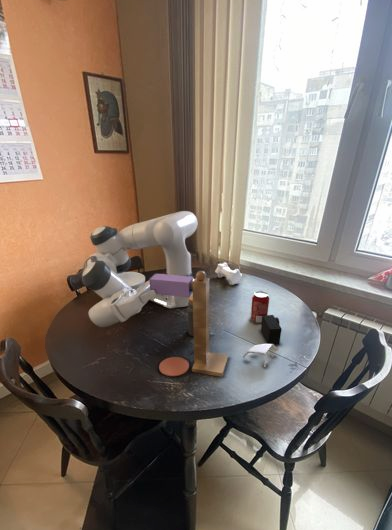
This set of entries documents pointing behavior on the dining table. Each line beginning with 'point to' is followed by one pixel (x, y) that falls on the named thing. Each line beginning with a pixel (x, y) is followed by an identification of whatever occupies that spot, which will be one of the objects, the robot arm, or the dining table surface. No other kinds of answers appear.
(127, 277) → the serving bowl
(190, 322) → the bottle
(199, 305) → the cup stand
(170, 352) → the dining table surface
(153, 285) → the purple block
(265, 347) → the white small piece
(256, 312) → the soda can
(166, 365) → the coaster
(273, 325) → the digital camera
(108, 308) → the robot arm
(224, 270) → the bone shaped toy
